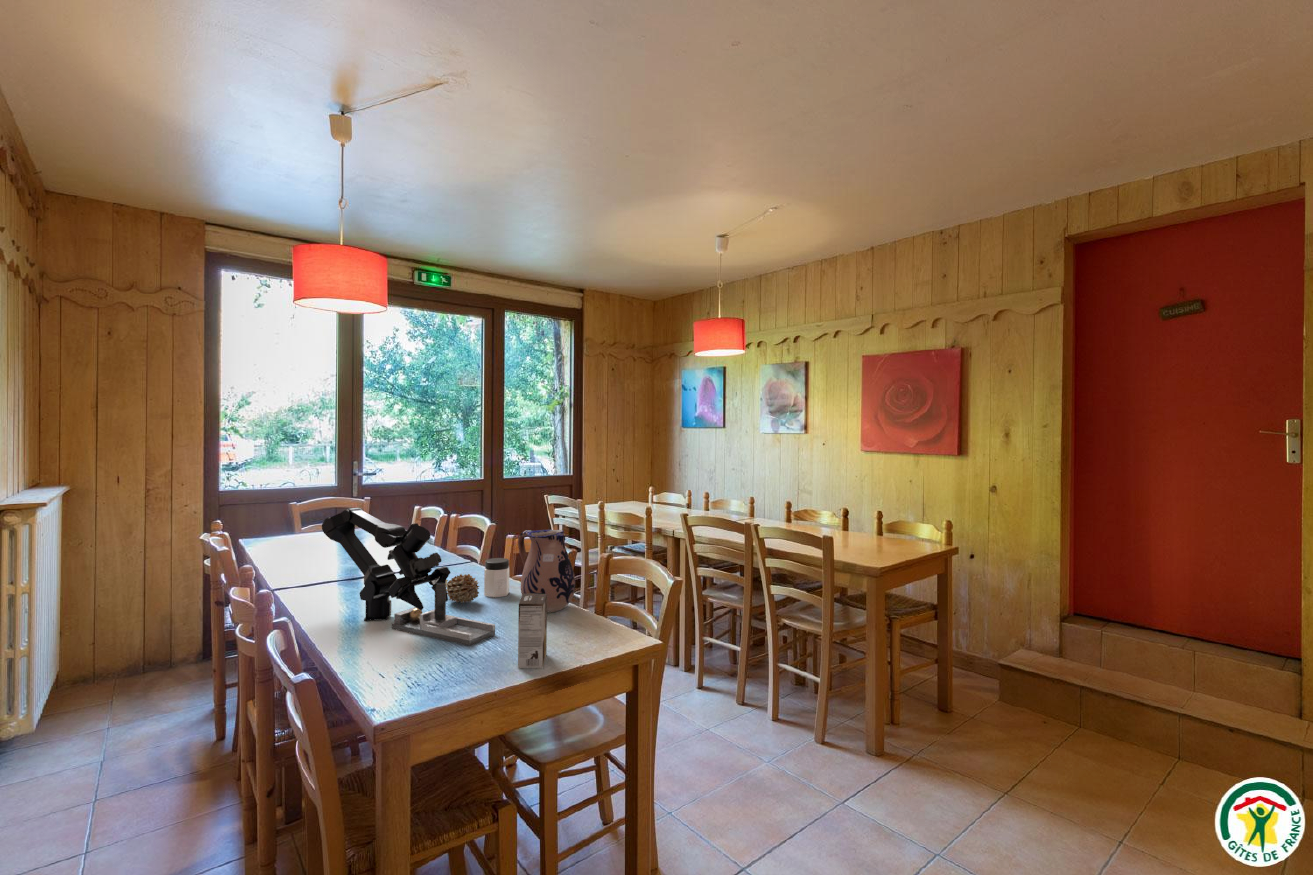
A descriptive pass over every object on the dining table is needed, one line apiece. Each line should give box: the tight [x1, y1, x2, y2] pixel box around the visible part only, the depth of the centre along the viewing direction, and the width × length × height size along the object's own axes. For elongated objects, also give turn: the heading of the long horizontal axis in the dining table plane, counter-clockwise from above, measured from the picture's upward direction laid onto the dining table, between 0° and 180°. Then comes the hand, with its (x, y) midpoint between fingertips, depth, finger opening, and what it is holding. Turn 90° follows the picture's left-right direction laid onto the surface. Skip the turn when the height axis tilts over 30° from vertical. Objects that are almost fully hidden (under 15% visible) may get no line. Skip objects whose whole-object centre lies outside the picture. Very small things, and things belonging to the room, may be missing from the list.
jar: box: [483, 557, 510, 598], centre depth 215 cm, size 9×8×12 cm
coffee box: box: [517, 593, 548, 669], centre depth 154 cm, size 9×6×16 cm
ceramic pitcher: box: [517, 529, 576, 613], centre depth 199 cm, size 18×21×25 cm
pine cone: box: [446, 573, 480, 604], centre depth 206 cm, size 22×10×10 cm, turn 49°
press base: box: [390, 606, 496, 647], centre depth 175 cm, size 30×10×5 cm, turn 64°
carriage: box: [420, 583, 458, 628], centre depth 176 cm, size 7×7×12 cm
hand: (434, 604), depth 176 cm, fingers open, 9 cm apart
